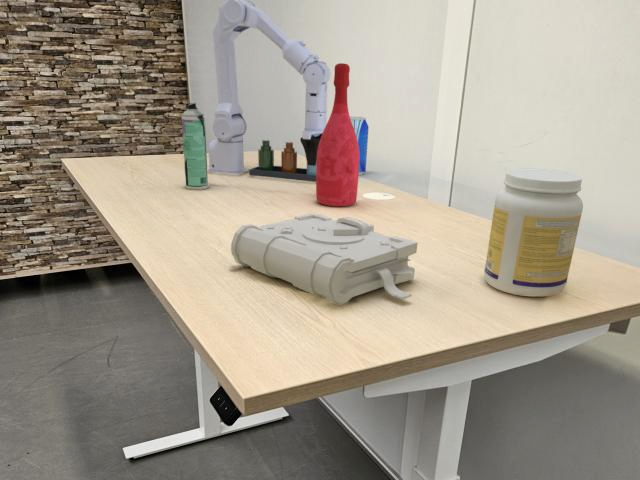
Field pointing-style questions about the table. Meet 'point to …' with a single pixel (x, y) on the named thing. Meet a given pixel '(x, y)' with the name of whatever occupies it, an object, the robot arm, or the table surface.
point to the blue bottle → (311, 170)
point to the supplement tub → (534, 232)
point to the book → (326, 256)
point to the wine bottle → (338, 150)
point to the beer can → (361, 140)
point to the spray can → (194, 148)
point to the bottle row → (286, 158)
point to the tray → (283, 174)
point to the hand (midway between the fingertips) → (314, 164)
